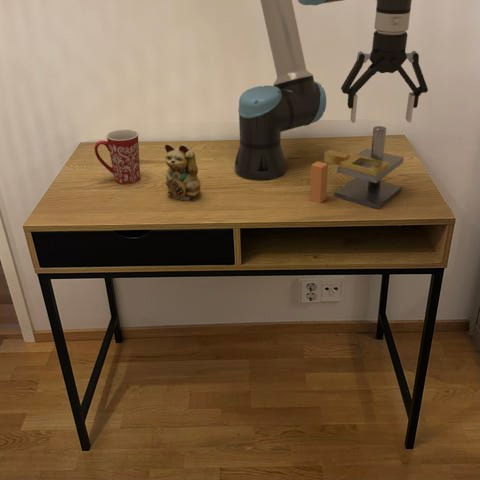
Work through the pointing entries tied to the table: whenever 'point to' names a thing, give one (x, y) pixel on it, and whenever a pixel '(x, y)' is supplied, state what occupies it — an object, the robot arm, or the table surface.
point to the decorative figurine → (181, 172)
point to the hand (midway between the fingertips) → (380, 120)
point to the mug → (122, 155)
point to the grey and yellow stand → (367, 172)
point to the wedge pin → (318, 182)
